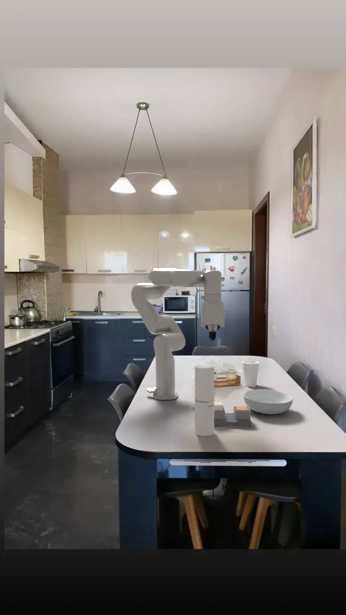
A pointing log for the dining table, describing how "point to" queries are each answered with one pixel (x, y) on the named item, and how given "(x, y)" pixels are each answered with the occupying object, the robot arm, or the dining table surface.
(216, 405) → the key ivory
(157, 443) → the dining table surface
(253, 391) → the serving bowl
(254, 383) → the foam cup
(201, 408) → the cylindrical container
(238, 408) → the key terracotta
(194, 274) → the robot arm
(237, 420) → the key panel
